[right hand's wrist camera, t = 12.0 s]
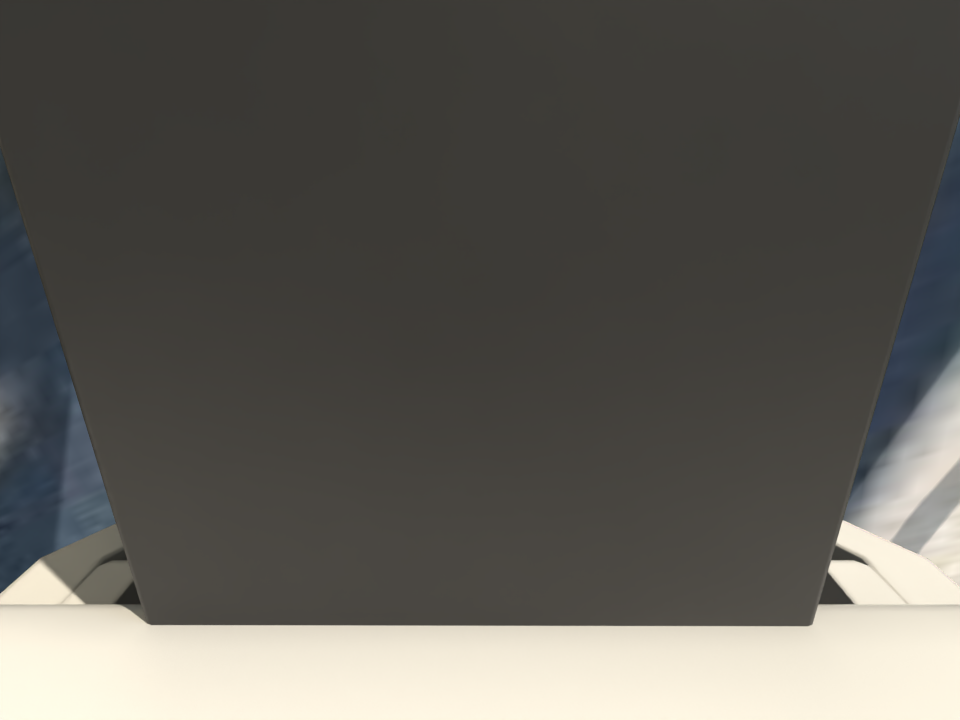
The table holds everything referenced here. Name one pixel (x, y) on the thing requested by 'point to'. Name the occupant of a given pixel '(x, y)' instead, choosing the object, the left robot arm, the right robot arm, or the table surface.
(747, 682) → the right robot arm
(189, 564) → the box
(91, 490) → the table surface
